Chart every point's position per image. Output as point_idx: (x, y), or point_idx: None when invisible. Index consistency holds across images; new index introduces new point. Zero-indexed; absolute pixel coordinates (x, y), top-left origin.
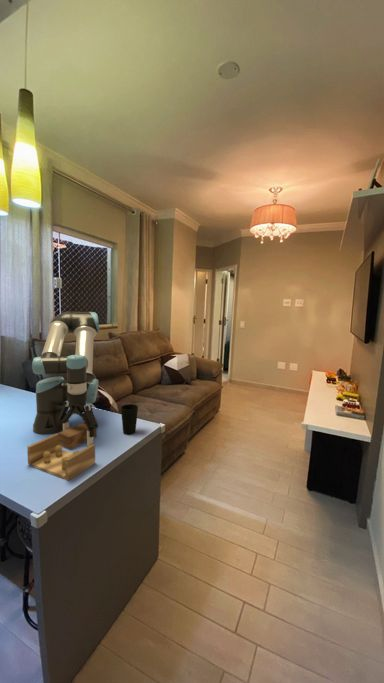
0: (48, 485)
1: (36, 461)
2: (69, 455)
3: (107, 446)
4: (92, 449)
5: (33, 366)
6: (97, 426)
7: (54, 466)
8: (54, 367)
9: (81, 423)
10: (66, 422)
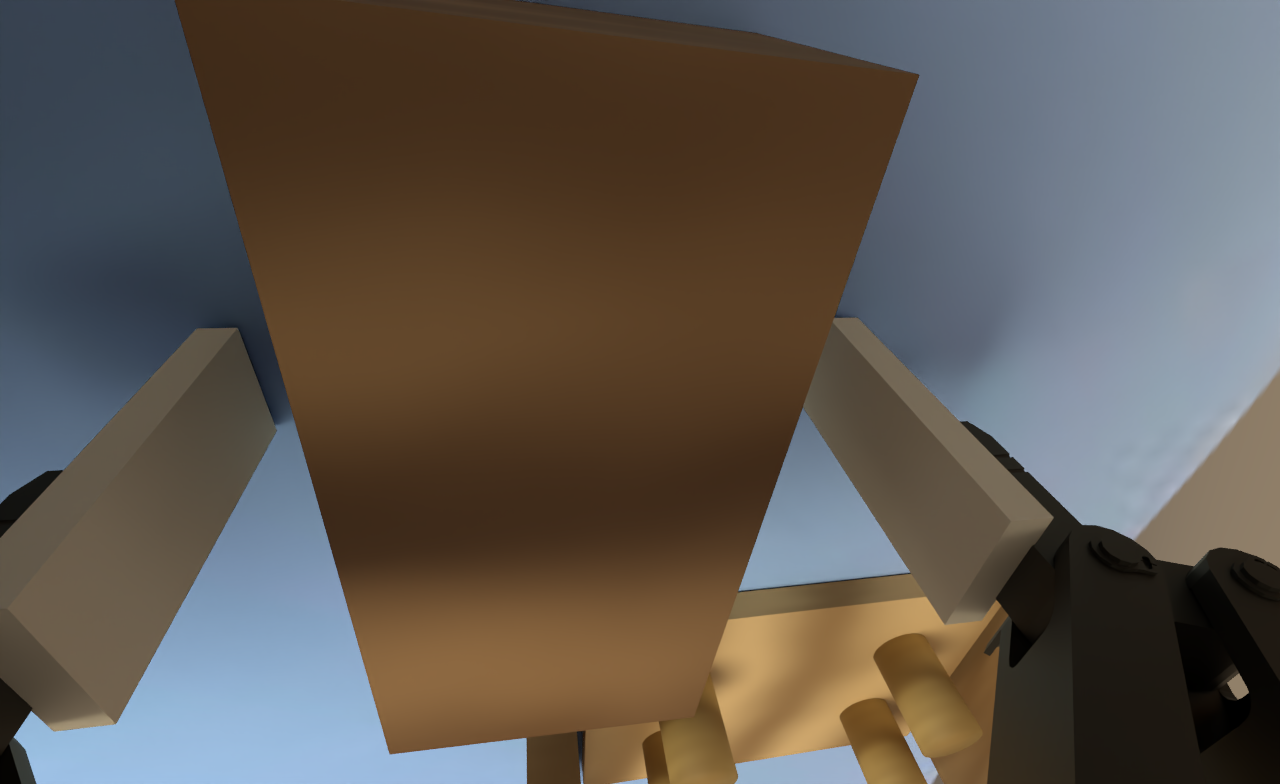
0: (841, 759)
1: (585, 769)
2: (780, 640)
3: (1103, 283)
4: None
5: None
6: (1277, 603)
7: (771, 733)
8: None
9: (275, 243)
10: (10, 662)
